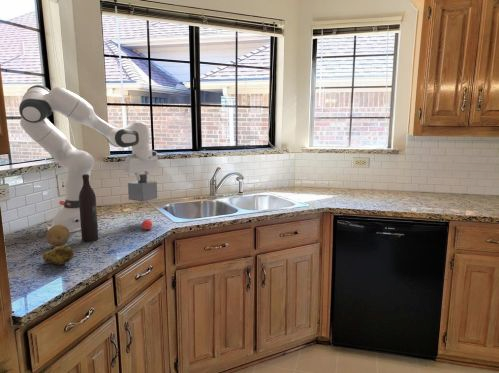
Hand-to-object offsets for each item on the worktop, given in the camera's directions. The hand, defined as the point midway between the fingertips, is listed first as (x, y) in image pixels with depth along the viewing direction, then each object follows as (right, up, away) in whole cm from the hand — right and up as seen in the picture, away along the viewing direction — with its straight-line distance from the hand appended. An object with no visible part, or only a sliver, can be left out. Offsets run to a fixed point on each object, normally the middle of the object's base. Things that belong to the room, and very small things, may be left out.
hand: (142, 180), depth 194 cm
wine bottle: (-17, -28, -23) cm, 40 cm away
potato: (-16, -33, -52) cm, 64 cm away
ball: (+4, -22, -7) cm, 24 cm away
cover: (0, -10, +2) cm, 10 cm away
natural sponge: (-26, -30, -34) cm, 52 cm away
